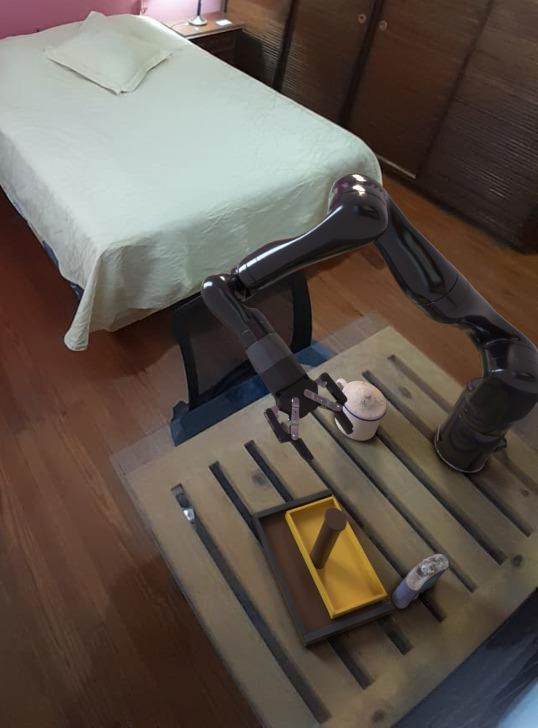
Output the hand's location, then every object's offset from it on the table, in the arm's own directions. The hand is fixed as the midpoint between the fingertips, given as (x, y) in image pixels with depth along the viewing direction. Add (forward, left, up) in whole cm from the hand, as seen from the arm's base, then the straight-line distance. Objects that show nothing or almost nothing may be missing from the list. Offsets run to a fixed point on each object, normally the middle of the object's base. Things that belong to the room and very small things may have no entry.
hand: (331, 446), depth 94 cm
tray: (+2, +10, -20) cm, 22 cm away
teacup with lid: (-17, -13, -21) cm, 31 cm away
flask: (-9, +18, -21) cm, 29 cm away
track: (+4, +10, -21) cm, 24 cm away
